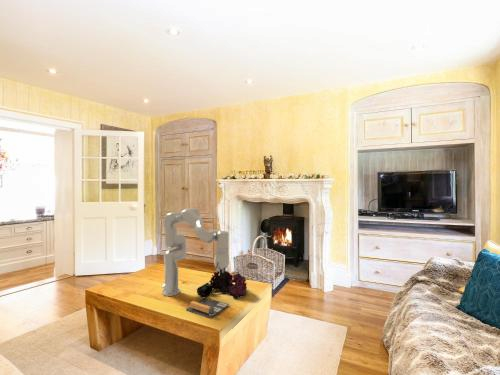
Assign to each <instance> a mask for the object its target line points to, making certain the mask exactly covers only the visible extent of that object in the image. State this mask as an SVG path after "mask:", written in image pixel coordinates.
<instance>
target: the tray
mask: <svg viewBox="0 0 500 375" xmlns="http://www.w3.org/2000/svg"><path fill="white" fill-rule="evenodd" d="M196 302H197V303H201V304H204V305H207V306H210V307H214V314H209V313H206V312H203V311H200V310H197V309H194V308H191V307H190V306H189V307H187V308H186V311H187V312H190V313H192V314H196V315H199V316H202V317H205V318H209V319H213V318H215V317H216V316H218V315H219V314H220V313H221V312H223V311H224V310H225V309H226V308H228V307H229V303H224V302H221V301H217V300H214V299H211V298H207V297H205V298H204V297H202V298H201V299H200V300H198V301H196Z"/></svg>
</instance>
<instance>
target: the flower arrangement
mask: <svg viewBox="0 0 500 375" xmlns="http://www.w3.org/2000/svg"><path fill="white" fill-rule="evenodd" d="M211 276H212V277H210V280H209V282H208V283H209V284H211V285H213V287H210V288H212V289H213V291H212V292H213V293H212V294H221V293H225V294H227V295H230V296H232V298H233V299H235V300H236V299H238V298H241V297H246V295H247V288H248V287H247V282H246V281H247V279H246V277H245V276H242V274H240V273H235V274H233V275H232V274H231V273H230V272H229V271H228V270H226V271H225V278H224V279H221V278H220V272H219V271H213V274H211ZM214 289H217V290H215V291H214Z"/></svg>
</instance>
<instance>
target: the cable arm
mask: <svg viewBox="0 0 500 375" xmlns="http://www.w3.org/2000/svg"><path fill="white" fill-rule="evenodd" d="M197 302H198V301H195V300H192V301H191V302H190V303H189V304H190V306H189V307H191V308H194V309H197V310H200V311H203V312H206V313H209V314H214V307H210V306H207V305H204V304H201V303H197Z"/></svg>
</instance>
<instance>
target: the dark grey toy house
mask: <svg viewBox="0 0 500 375" xmlns="http://www.w3.org/2000/svg"><path fill="white" fill-rule="evenodd" d="M210 287H213V285H211V284H210V282H206V283H204V284H202V285H200V286H198V287H197V289H196V294H197V295H198V296H199V297H201V298H207V297H208V296H210V295H211V294H214V293H213V292H214V288H213V289H212V288H210Z"/></svg>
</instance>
